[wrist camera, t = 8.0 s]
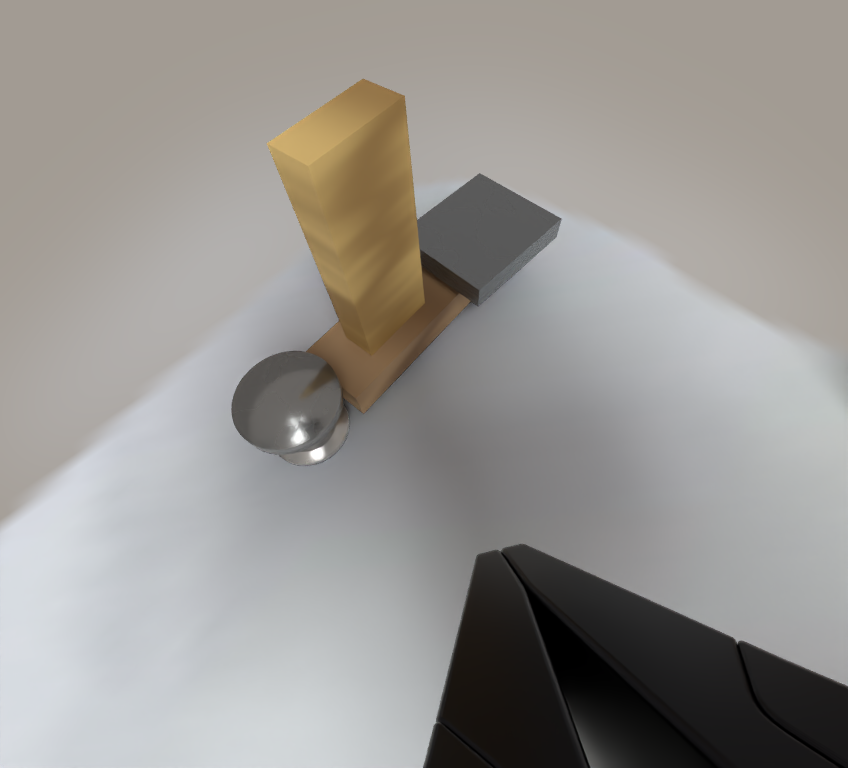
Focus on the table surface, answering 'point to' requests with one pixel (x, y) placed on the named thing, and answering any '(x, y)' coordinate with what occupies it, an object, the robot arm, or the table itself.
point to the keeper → (482, 237)
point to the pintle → (292, 408)
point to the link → (364, 237)
